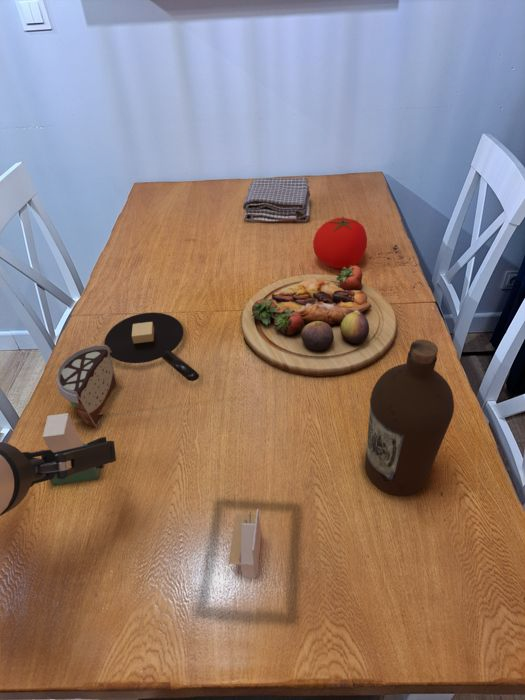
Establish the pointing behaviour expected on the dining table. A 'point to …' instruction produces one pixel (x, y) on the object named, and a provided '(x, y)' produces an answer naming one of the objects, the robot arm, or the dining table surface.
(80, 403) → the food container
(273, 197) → the towel
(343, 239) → the tomato
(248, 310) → the wooden plate
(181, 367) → the pan
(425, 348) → the brown bottle
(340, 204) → the dining table surface
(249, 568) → the architectural model
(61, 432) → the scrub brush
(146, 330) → the tan square block
